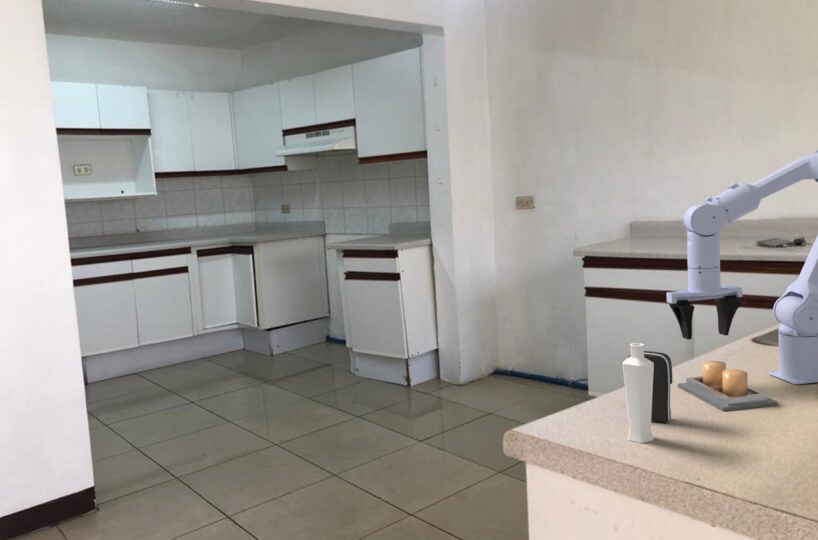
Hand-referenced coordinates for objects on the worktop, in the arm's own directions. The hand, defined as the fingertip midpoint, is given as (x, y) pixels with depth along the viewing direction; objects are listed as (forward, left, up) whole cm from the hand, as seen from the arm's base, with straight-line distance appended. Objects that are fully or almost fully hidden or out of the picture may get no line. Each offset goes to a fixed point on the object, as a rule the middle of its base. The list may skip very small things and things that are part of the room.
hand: (705, 336), depth 130 cm
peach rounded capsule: (+2, +6, -8) cm, 10 cm away
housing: (+2, +9, -9) cm, 13 cm away
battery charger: (+19, +16, -9) cm, 27 cm away
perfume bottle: (+25, +24, -9) cm, 36 cm away
